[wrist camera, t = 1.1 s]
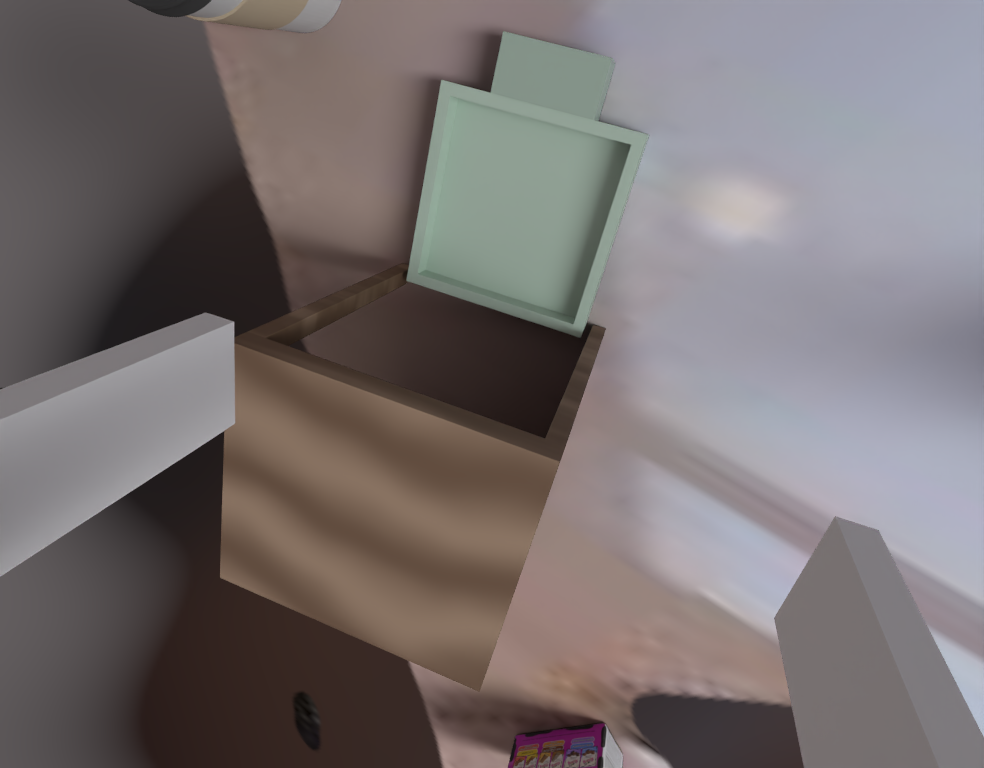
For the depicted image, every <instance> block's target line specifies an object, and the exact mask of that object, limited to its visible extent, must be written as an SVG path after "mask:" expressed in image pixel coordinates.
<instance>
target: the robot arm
mask: <svg viewBox="0 0 984 768" xmlns="http://www.w3.org/2000/svg"><path fill="white" fill-rule="evenodd" d="M234 424H235V358H234V321H230V320H227V319H224V318H221V317H218V316H215V315H212V314H209V313H203V314H200V315H198V316H195V317H192V318H190V319H187V320H184V321H182V322H179V323H176V324H174V325H171V326H168V327H166V328H163V329H161V330H158V331H155V332H152V333H150V334H147V335H144V336H142V337H139V338H136V339H134V340H131V341H128V342H126V343H123V344H120V345H117V346H115V347H112V348H110V349H107V350H104V351H101V352H99V353H96V354H93V355H91V356H88V357H85V358H83V359H80V360H77V361H75V362H72V363H69V364H67V365H64V366H61V367H59V368H56V369H53V370H51V371H48V372H45V373H43V374H40V375H37V376H35V377H32V378H30V379H27V380H24V381H21V382H19V383H16V384H14V385H11V386H8V387H4V388H0V576H1V575H3V574H5V573H6V572H8V571H9V570H11V569H12V568H14V567H15V566H17V565H19V564H20V563H22V562H23V561H25V560H26V559H28V558H29V557H31V556H32V555H34V554H35V553H37V552H39V551H40V550H42V549H43V548H45V547H46V546H48V545H49V544H51V543H52V542H54V541H55V540H57V539H58V538H60V537H61V536H63V535H65V534H66V533H68V532H69V531H71V530H72V529H74V528H75V527H77V526H78V525H80V524H82V523H83V522H85V521H86V520H88V519H89V518H91V517H92V516H94V515H95V514H97V513H98V512H100V511H102V510H103V509H104V508H106V507H108V506H109V505H111V504H112V503H114V502H115V501H117V500H118V499H120V498H122V497H123V496H125V495H126V494H128V493H129V492H131V491H132V490H134V489H135V488H137V487H138V486H140V485H141V484H143V483H145V482H146V481H148V480H149V479H151V478H152V477H154V476H155V475H157V474H158V473H160V472H161V471H163V470H164V469H166V468H168V467H169V466H171V465H172V464H174V463H175V462H177V461H178V460H180V459H181V458H183V457H184V456H186V455H187V454H189V453H191V452H192V451H194V450H195V449H197V448H198V447H200V446H201V445H203V444H204V443H206V442H208V441H209V440H211V439H212V438H214V437H215V436H217V435H218V434H220V433H221V432H223V431H225V430H226V429H228V428H229V427H231V426H232V425H234ZM774 619H775V624H776V629H777V634H778V639H779V644H780V649H781V654H782V659H783V664H784V669H785V674H786V679H787V684H788V689H789V694H790V699H791V704H792V709H793V714H794V719H795V724H796V729H797V734H798V739H799V744H800V749H801V754H802V759H803V764H804V768H984V737H983V735H982V733H981V731H980V729H979V727H978V725H977V723H976V721H975V719H974V717H973V715H972V713H971V711H970V709H969V707H968V705H967V703H966V702H965V700H964V698H963V696H962V694H961V692H960V690H959V688H958V686H957V684H956V682H955V680H954V678H953V676H952V674H951V672H950V670H949V668H948V666H947V664H946V662H945V660H944V658H943V656H942V654H941V652H940V650H939V648H938V646H937V644H936V643H935V641H934V639H933V637H932V635H931V633H930V631H929V629H928V627H927V625H926V623H925V621H924V619H923V617H922V615H921V613H920V611H919V609H918V607H917V605H916V603H915V601H914V599H913V597H912V595H911V593H910V591H909V589H908V587H907V585H906V584H905V582H904V580H903V578H902V576H901V574H900V572H899V570H898V568H897V566H896V564H895V562H894V560H893V558H892V556H891V554H890V552H889V550H888V548H887V546H886V544H885V542H884V540H883V538H882V536H881V534H880V532H879V530H876V529H873V528H870V527H867V526H864V525H860V524H857V523H854V522H851V521H848V520H845V519H842V518H839V517H836V516H835V517H834V519H833V521H832V522H831V524H830V526H829V527H828V529H827V531H826V533H825V534H824V536H823V538H822V539H821V541H820V543H819V544H818V546H817V548H816V549H815V551H814V553H813V554H812V556H811V558H810V559H809V561H808V563H807V564H806V566H805V568H804V569H803V571H802V573H801V574H800V576H799V578H798V579H797V581H796V583H795V584H794V586H793V588H792V589H791V591H790V593H789V594H788V596H787V598H786V599H785V601H784V603H783V604H782V606H781V608H780V609H779V611H778V613H777V614H776V616H775V618H774Z"/></svg>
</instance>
